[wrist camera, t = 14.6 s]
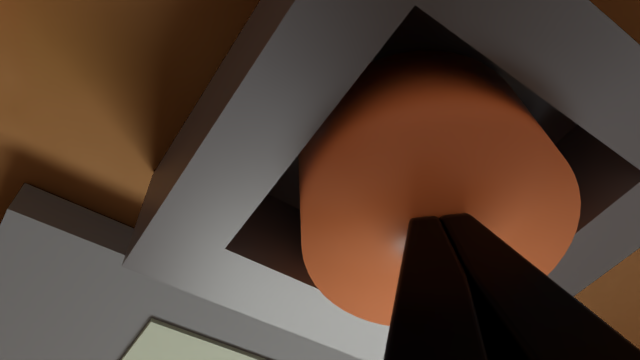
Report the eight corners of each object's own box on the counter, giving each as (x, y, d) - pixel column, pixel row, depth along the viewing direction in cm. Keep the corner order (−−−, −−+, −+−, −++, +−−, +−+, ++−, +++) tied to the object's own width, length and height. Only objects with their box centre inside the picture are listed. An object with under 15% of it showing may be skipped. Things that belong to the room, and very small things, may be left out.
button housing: (152, 174, 10) (121, 266, 8) (369, -177, 7) (402, -165, 5) (419, 298, 13) (444, 391, 11) (667, 80, 10) (764, 155, 8)
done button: (255, 186, 10) (249, 271, 8) (396, -2, 8) (428, 58, 6) (422, 268, 11) (447, 355, 9) (574, 129, 9) (639, 205, 8)
